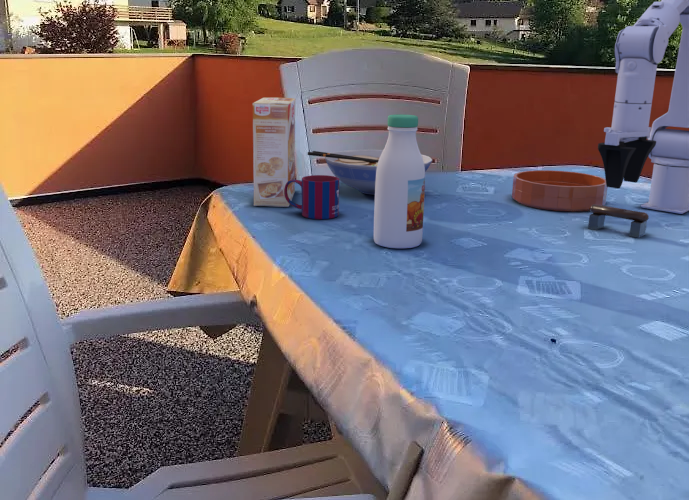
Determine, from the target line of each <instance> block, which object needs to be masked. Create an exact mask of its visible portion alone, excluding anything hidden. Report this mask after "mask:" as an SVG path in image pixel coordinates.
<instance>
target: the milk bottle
mask: <svg viewBox="0 0 689 500" xmlns="http://www.w3.org/2000/svg"><path fill="white" fill-rule="evenodd" d="M418 126H419V116H417V115H414V114H390V115H388V116H387V128H386V129H387V130H388V136H387V140H386V143H385V146H384V148H383V149H382V150H383V152H382V154H381V156H380V158H379V161H378V165H377V170H376V182H375V195H374V204H373V205H374V207H373V208H374V210H373V241H374V243H375V244H377V245H378V246H381V247H385V248H388V249H389V248H390V249H411V248H416V247H418V246H420V245H421V244H422V242H423V232H424V216H425V215H424V214H425V213H424V212H425V193H426V172H425V166H424V162H423V158H422V155H423V154H422V153H421V151H420V150H421V149H420V148H419V145H418V140H417V131H418V130H419V128H418ZM421 154H422V155H421Z"/></svg>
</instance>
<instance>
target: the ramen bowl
mask: <svg viewBox="0 0 689 500" xmlns="http://www.w3.org/2000/svg"><path fill="white" fill-rule="evenodd" d="M383 150H384V149H351V150H350V149H348V150H341V151H333V152H326V151H325V152H324V151H318V150H312V151H307V156H312V157H321V158H322V157H324V160H325V162H326V164H327V166H328V168H329V169H330V171H331V173H332V174H333V176H334V177H338V178H339V182H341V183H342V184H344V185H347V186H348V187H351V188H353V189H355V190H358V192H360V193H361V194H366V195H373V196H375V182H376V170H377V165H378V161H379V158H380V156H381V154H382V152H383ZM421 155H422V158H423V162H424V166H425V173H426V172H427V171H428V169H429V168H430V166H431V164H432V162H433V158H431V157H430V156H428V155H425V154H422V153H421Z"/></svg>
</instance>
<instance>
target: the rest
mask: <svg viewBox="0 0 689 500" xmlns="http://www.w3.org/2000/svg"><path fill="white" fill-rule="evenodd" d="M605 220H606V216H605V215H600V214H594V213H590V214H589V217H588V226H587V229H589V230H595V231H598V230H600V229H603V228H604V227H605ZM647 224H648V220H647V221H646V222H640V221H634V220H631V222H630V227H629V235H628V236H629V237H631V238H636V239H639V238H642V237H643V236H645V235H646V230H647Z"/></svg>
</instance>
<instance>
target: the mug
mask: <svg viewBox="0 0 689 500" xmlns="http://www.w3.org/2000/svg"><path fill="white" fill-rule="evenodd" d="M291 182H295V184H298V185H299V186H300V187H301V204H297V203H295V202H294V201H292V200H290V199H289V197H288V194H287V188H288V185H289V184H290V183H291ZM284 195H285V198H286V200H287V202H288V203H289V204H290V205H289V206H291V207H294V208H296V209H299V210H301V216H302V217H303V218H307V219H312V220H330V219H335V218H337V217H339V213H340V211H339V210H340V208H339V207H340V180H339V178H338V177H335V175H326V174H313V175H306V176H303V177H302V178H301V180H298V179H295V180H289V181H288V182H287V183H286V185H285V188H284Z"/></svg>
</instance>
